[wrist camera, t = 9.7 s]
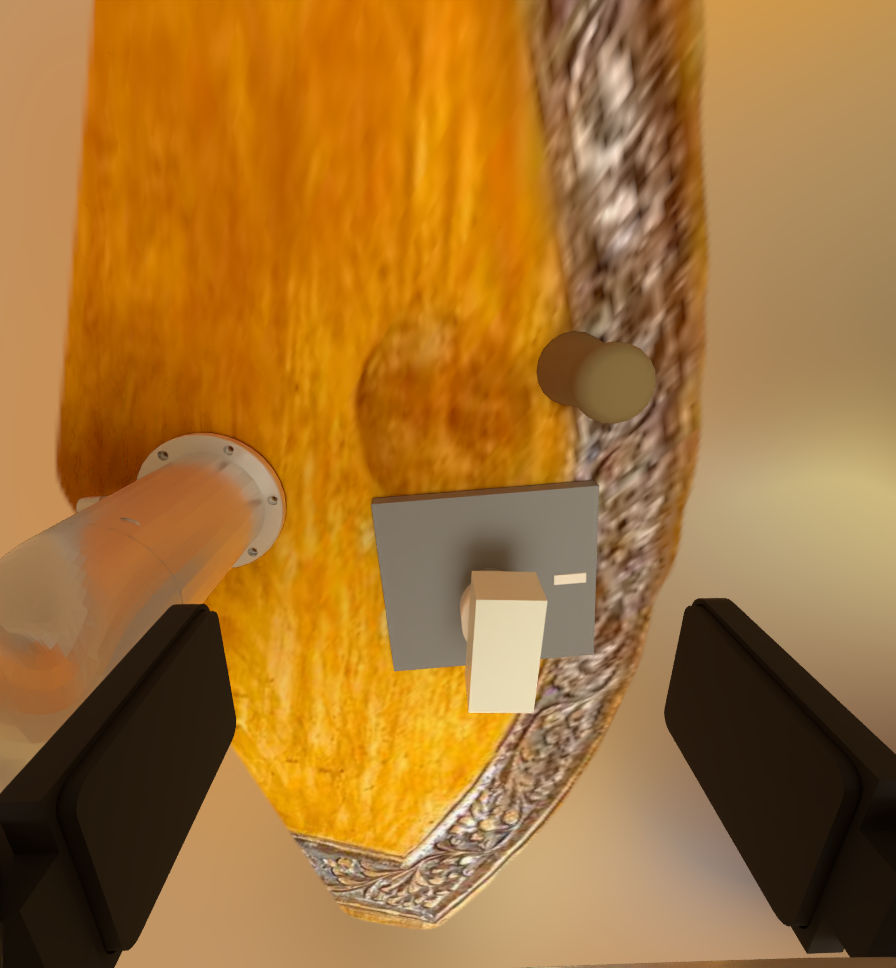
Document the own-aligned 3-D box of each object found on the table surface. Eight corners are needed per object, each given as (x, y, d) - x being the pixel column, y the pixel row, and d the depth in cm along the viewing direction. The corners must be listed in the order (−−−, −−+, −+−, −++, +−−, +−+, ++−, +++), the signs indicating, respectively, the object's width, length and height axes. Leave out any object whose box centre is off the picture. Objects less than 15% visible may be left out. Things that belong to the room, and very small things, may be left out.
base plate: (395, 660, 49) (392, 693, 44) (373, 498, 43) (366, 518, 38) (588, 644, 49) (603, 675, 45) (593, 480, 43) (611, 497, 39)
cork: (527, 395, 40) (560, 422, 30) (549, 322, 38) (594, 323, 28) (593, 412, 41) (649, 444, 30) (619, 342, 39) (687, 350, 29)
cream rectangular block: (462, 552, 39) (469, 599, 33) (534, 554, 40) (554, 600, 33) (457, 656, 43) (461, 717, 36) (522, 656, 43) (539, 718, 37)
